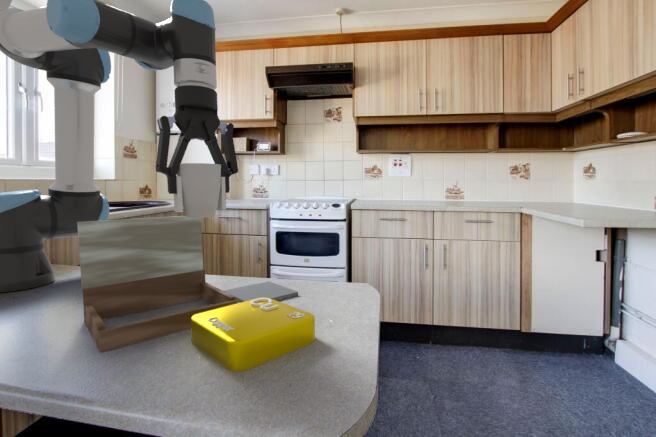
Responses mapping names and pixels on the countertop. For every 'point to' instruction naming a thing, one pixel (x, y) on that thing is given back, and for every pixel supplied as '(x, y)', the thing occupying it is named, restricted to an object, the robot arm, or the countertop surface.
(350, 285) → the countertop surface
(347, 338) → the countertop surface
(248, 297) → the slate mat
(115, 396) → the countertop surface
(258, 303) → the element tile
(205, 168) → the cup
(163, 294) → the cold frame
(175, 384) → the countertop surface
